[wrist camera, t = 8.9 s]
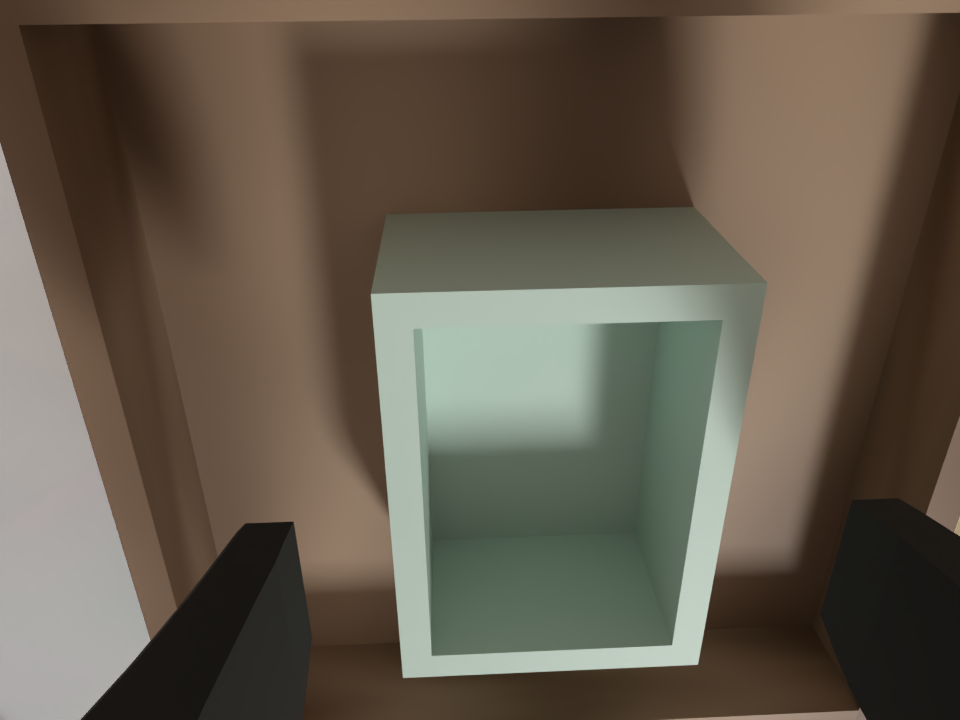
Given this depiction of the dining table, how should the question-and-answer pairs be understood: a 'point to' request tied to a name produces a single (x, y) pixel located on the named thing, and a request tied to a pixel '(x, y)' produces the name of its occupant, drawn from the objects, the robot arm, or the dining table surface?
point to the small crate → (558, 432)
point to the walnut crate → (488, 188)
